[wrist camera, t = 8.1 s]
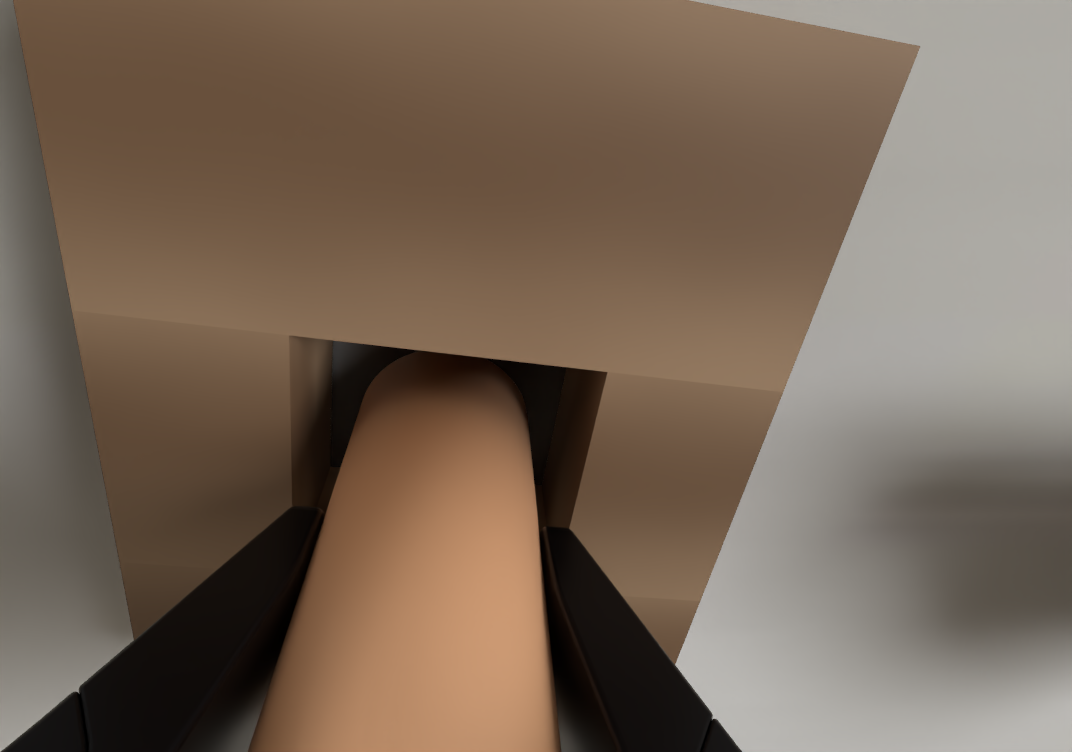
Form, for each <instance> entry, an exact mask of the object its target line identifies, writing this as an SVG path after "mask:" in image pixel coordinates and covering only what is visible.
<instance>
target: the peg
mask: <svg viewBox="0 0 1072 752" xmlns="http://www.w3.org/2000/svg"><path fill="white" fill-rule="evenodd" d="M248 752H561V743H560V733H559V723H558V713H557V703H556V694H555V684H554V674H553V664H552V654H551V644H550V634H549V624H548V614H547V604H546V594H545V585H544V575H543V565H542V555H541V545H540V535H539V525H538V515H537V505H536V495H535V485H534V475H533V466H532V456H531V446H530V436H529V426H528V416H527V410H526V405H525V402H524V399H523V396H522V394H521V392H520V390H519V389H518V387H517V385H516V384H515V383H514V381H513V380H512V379H511V378H510V377H509V376H508V375H507V374H506V373H505V372H504V371H503V370H502V369H501V368H499V367H498V366H497V365H495V364H494V363H492V362H490V361H489V360H487V359H485V358H482V357H473V356H464V355H456V354H447V353H438V352H429V351H418V352H415V353H412V354H408V355H406V356H404V357H402V358H399V359H397V360H396V361H394V362H393V363H391V364H389V365H388V366H387V367H385V368H384V369H383V370H382V371H381V372H380V373H379V374H378V375H377V376H376V377H375V378H374V379H373V381H372V382H371V384H370V385H369V387H368V389H367V391H366V393H365V395H364V398H363V401H362V404H361V407H360V410H359V413H358V416H357V419H356V422H355V425H354V428H353V431H352V434H351V437H350V440H349V443H348V446H347V450H346V453H345V456H344V459H343V462H342V465H341V468H340V471H339V474H338V477H337V480H336V483H335V486H334V489H333V492H332V495H331V498H330V501H329V505H328V508H327V511H326V514H325V517H324V520H323V523H322V526H321V529H320V532H319V535H318V538H317V541H316V544H315V547H314V550H313V553H312V556H311V560H310V563H309V566H308V569H307V572H306V575H305V578H304V581H303V584H302V587H301V590H300V593H299V596H298V599H297V602H296V605H295V608H294V611H293V615H292V618H291V621H290V624H289V627H288V630H287V633H286V636H285V639H284V642H283V645H282V648H281V651H280V654H279V657H278V660H277V663H276V666H275V670H274V673H273V676H272V679H271V682H270V685H269V688H268V691H267V694H266V697H265V700H264V703H263V706H262V709H261V712H260V715H259V718H258V721H257V725H256V728H255V731H254V734H253V737H252V740H251V743H250V746H249V749H248Z"/></svg>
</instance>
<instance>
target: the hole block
mask: <svg viewBox="0 0 1072 752" xmlns="http://www.w3.org/2000/svg"><path fill="white" fill-rule="evenodd" d="M13 2H14V8H15V13H16V18H17V24H18V29H19V34H20V39H21V45H22V50H23V55H24V61H25V66H26V71H27V76H28V82H29V87H30V92H31V97H32V103H33V108H34V113H35V119H36V124H37V129H38V134H39V140H40V145H41V150H42V156H43V161H44V166H45V171H46V177H47V182H48V187H49V193H50V198H51V203H52V208H53V214H54V219H55V224H56V230H57V235H58V240H59V245H60V251H61V256H62V261H63V267H64V272H65V277H66V282H67V288H68V293H69V298H70V304H71V309H72V314H73V319H74V325H75V330H76V335H77V341H78V346H79V351H80V356H81V362H82V367H83V372H84V378H85V383H86V388H87V393H88V399H89V404H90V409H91V415H92V420H93V425H94V430H95V436H96V441H97V446H98V452H99V457H100V462H101V467H102V473H103V478H104V483H105V489H106V494H107V499H108V504H109V510H110V515H111V520H112V526H113V531H114V536H115V541H116V547H117V552H118V557H119V563H120V568H121V573H122V578H123V584H124V589H125V594H126V600H127V605H128V610H129V615H130V621H131V626H132V631H133V637H134V640H135V639H136V638H137V637H138V636H140V635H141V634H142V633H143V632H144V631H145V630H147V629H148V628H149V627H150V626H151V625H153V624H154V623H155V622H156V621H157V620H158V619H160V618H161V617H162V616H163V615H164V614H165V613H167V612H168V611H169V610H170V609H171V608H172V607H174V606H175V605H176V604H177V603H178V602H180V601H181V600H182V599H183V598H184V597H185V596H187V595H188V594H189V593H190V592H191V591H192V590H194V589H195V588H196V587H197V586H198V585H199V584H201V583H202V582H203V581H204V580H205V579H207V578H208V577H209V576H210V575H211V574H212V573H214V572H215V571H216V570H217V569H218V568H219V567H221V566H222V565H223V564H224V563H225V562H227V561H228V560H229V559H230V558H231V557H232V556H234V555H235V554H236V553H237V552H238V551H239V550H241V549H242V548H243V547H244V546H245V545H246V544H248V543H249V542H250V541H251V540H252V539H254V538H255V537H256V536H257V535H258V534H259V533H261V532H262V531H263V530H264V529H265V528H266V527H268V526H269V525H270V524H271V523H272V522H273V521H275V520H276V519H277V518H278V517H279V516H281V515H282V514H283V513H284V512H285V511H286V510H288V509H289V508H290V507H293V506H307V507H318V508H321V509H322V510H323V512H324V517H325V514H326V511H327V508H328V505H329V501H330V498H331V495H332V492H333V489H334V486H335V483H336V480H337V477H338V474H339V471H340V468H339V467H331V419H332V360H333V340H334V341H342V342H351V343H360V344H369V345H377V346H386V347H395V348H403V349H412V350H421V351H429V352H438V353H447V354H456V355H464V356H473V357H482V358H490V359H499V360H508V361H516V362H525V363H534V364H543V365H551V366H560V367H566V372H565V377H564V382H563V386H562V391H561V396H560V401H559V405H558V410H557V415H556V420H555V424H554V429H553V434H552V439H551V443H550V448H549V453H548V458H547V462H546V467H545V472H544V477H543V482H542V486H541V485H535V495H536V505H537V515H538V525H539V534H540V531H541V529H542V528H543V527H545V526H552V527H565V528H569V529H570V530H572V531H573V532H574V534H575V535H576V536H577V538H578V539H579V540H580V541H581V543H582V544H583V545H584V547H585V548H586V549H587V551H588V552H589V553H590V555H591V556H592V557H593V558H594V560H595V561H596V562H597V564H598V565H599V566H600V568H601V569H602V570H603V572H604V573H605V574H606V575H607V577H608V578H609V579H610V581H611V582H612V583H613V585H614V586H615V587H616V589H617V590H618V591H619V592H620V594H621V595H622V596H623V598H624V599H625V600H626V602H627V603H628V604H629V605H630V607H631V608H632V609H633V611H634V612H635V613H636V615H637V616H638V617H639V619H640V620H641V621H642V622H643V624H644V625H645V626H646V628H647V629H648V630H649V632H650V633H651V634H652V636H653V637H654V638H655V639H656V641H657V642H658V643H659V645H660V646H661V647H662V649H663V650H664V651H665V653H666V654H667V655H668V656H669V658H670V659H671V660H672V662H673V663H674V664H675V663H676V661H677V658H678V656H679V653H680V651H681V648H682V646H683V643H684V641H685V638H686V636H687V633H688V630H689V628H690V625H691V623H692V620H693V618H694V615H695V613H696V610H697V608H698V605H699V603H700V600H701V598H702V595H703V593H704V590H705V588H706V585H707V583H708V580H709V578H710V575H711V573H712V570H713V567H714V565H715V562H716V560H717V557H718V555H719V552H720V550H721V547H722V545H723V542H724V540H725V537H726V535H727V532H728V530H729V527H730V525H731V522H732V520H733V517H734V515H735V512H736V510H737V507H738V504H739V502H740V499H741V497H742V494H743V492H744V489H745V487H746V484H747V482H748V479H749V477H750V474H751V472H752V469H753V467H754V464H755V462H756V459H757V457H758V454H759V452H760V449H761V447H762V444H763V441H764V439H765V436H766V434H767V431H768V429H769V426H770V424H771V421H772V419H773V416H774V414H775V411H776V409H777V406H778V404H779V401H780V399H781V396H782V394H783V391H784V389H785V386H786V384H787V381H788V378H789V376H790V373H791V371H792V368H793V366H794V363H795V361H796V358H797V356H798V353H799V351H800V348H801V346H802V343H803V341H804V338H805V336H806V333H807V331H808V328H809V326H810V323H811V321H812V318H813V315H814V313H815V310H816V308H817V305H818V303H819V300H820V298H821V295H822V293H823V290H824V288H825V285H826V283H827V280H828V278H829V275H830V273H831V270H832V268H833V265H834V263H835V260H836V258H837V255H838V252H839V250H840V247H841V245H842V242H843V240H844V237H845V235H846V232H847V230H848V227H849V225H850V222H851V220H852V217H853V215H854V212H855V210H856V207H857V205H858V202H859V200H860V197H861V195H862V192H863V189H864V187H865V184H866V182H867V179H868V177H869V174H870V172H871V169H872V167H873V164H874V162H875V159H876V157H877V154H878V152H879V149H880V147H881V144H882V142H883V139H884V137H885V134H886V132H887V129H888V126H889V124H890V121H891V119H892V116H893V114H894V111H895V109H896V106H897V104H898V101H899V99H900V96H901V94H902V91H903V89H904V86H905V84H906V81H907V79H908V76H909V74H910V71H911V69H912V66H913V63H914V61H915V58H916V56H917V53H918V51H919V48H920V46H916V45H911V44H906V43H901V42H896V41H891V40H886V39H881V38H876V37H871V36H866V35H861V34H855V33H850V32H845V31H840V30H835V29H830V28H825V27H820V26H815V25H810V24H805V23H800V22H795V21H790V20H785V19H780V18H775V17H770V16H765V15H760V14H755V13H749V12H744V11H739V10H734V9H729V8H724V7H719V6H714V5H709V4H704V3H699V2H694V1H689V0H13Z"/></svg>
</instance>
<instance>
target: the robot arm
mask: <svg viewBox="0 0 1072 752" xmlns="http://www.w3.org/2000/svg"><path fill="white" fill-rule="evenodd" d="M323 520H324V512H323V510H322V509H321V508H318V507H307V506H293V507H290V508H289V509H288V510H286V511H285V512H284V513H283V514H282V515H281V516H279V517H278V518H277V519H276V520H275V521H273V522H272V523H271V524H270V525H269V526H268V527H266V528H265V529H264V530H263V531H262V532H261V533H259V534H258V535H257V536H256V537H255V538H254V539H252V540H251V541H250V542H249V543H248V544H246V545H245V546H244V547H243V548H242V549H241V550H239V551H238V552H237V553H236V554H235V555H234V556H232V557H231V558H230V559H229V560H228V561H227V562H225V563H224V564H223V565H222V566H221V567H219V568H218V569H217V570H216V571H215V572H214V573H212V574H211V575H210V576H209V577H208V578H207V579H205V580H204V581H203V582H202V583H201V584H199V585H198V586H197V587H196V588H195V589H194V590H192V591H191V592H190V593H189V594H188V595H187V596H185V597H184V598H183V599H182V600H181V601H180V602H178V603H177V604H176V605H175V606H174V607H172V608H171V609H170V610H169V611H168V612H167V613H165V614H164V615H163V616H162V617H161V618H160V619H158V620H157V621H156V622H155V623H154V624H153V625H151V626H150V627H149V628H148V629H147V630H145V631H144V632H143V633H142V634H141V635H140V636H138V637H137V638H136V639H135V640H134V641H133V642H131V643H130V644H129V645H128V646H127V647H126V648H124V649H123V650H122V651H121V652H120V653H118V654H117V655H116V656H115V657H114V658H113V659H111V660H110V661H109V662H108V663H107V664H106V665H104V666H103V667H102V668H101V669H100V670H98V671H97V672H96V673H95V674H94V675H93V676H91V677H90V678H89V679H88V680H87V681H86V682H84V683H83V684H82V685H81V686H80V687H79V693H78V692H73V693H71V694H70V695H69V696H68V697H66V698H65V699H64V700H63V701H62V702H60V703H59V704H58V705H57V706H56V707H55V708H53V709H52V710H51V711H50V712H49V713H48V714H46V715H45V716H44V717H43V718H42V719H40V720H39V721H38V722H37V723H36V724H34V725H33V726H32V727H31V728H29V729H28V730H27V731H26V732H25V733H23V734H22V735H21V736H20V737H18V738H17V739H16V740H15V741H14V742H12V743H11V744H10V745H9V746H7V747H6V748H5V749H4V750H2V751H1V752H248V749H249V746H250V743H251V740H252V737H253V734H254V731H255V728H256V725H257V721H258V718H259V715H260V712H261V709H262V706H263V703H264V700H265V697H266V694H267V691H268V688H269V685H270V682H271V679H272V676H273V673H274V670H275V666H276V663H277V660H278V657H279V654H280V651H281V648H282V645H283V642H284V639H285V636H286V633H287V630H288V627H289V624H290V621H291V618H292V615H293V611H294V608H295V605H296V602H297V599H298V596H299V593H300V590H301V587H302V584H303V581H304V578H305V575H306V572H307V569H308V566H309V563H310V560H311V556H312V553H313V550H314V547H315V544H316V541H317V538H318V535H319V532H320V529H321V526H322V523H323ZM539 535H540V545H541V555H542V565H543V575H544V585H545V594H546V604H547V614H548V624H549V634H550V644H551V654H552V664H553V674H554V684H555V694H556V703H557V713H558V723H559V733H560V743H561V752H742V751H741V750H740V749H739V747H738V746H737V745H736V744H735V742H734V741H733V740H732V738H731V737H730V736H729V734H728V733H727V732H726V731H725V729H724V728H723V727H722V725H721V724H720V723H719V721H718V720H717V719H713V720H712V717H713V715H712V713H711V711H710V710H709V709H708V707H707V706H706V705H705V703H704V702H703V701H702V700H701V698H700V697H699V696H698V694H697V693H696V692H695V690H694V689H693V688H692V686H691V685H690V684H689V683H688V681H687V680H686V679H685V677H684V676H683V675H682V673H681V672H680V671H679V670H678V668H677V667H676V666H675V664H674V663H673V662H672V660H671V659H670V658H669V656H668V655H667V654H666V653H665V651H664V650H663V649H662V647H661V646H660V645H659V643H658V642H657V641H656V639H655V638H654V637H653V636H652V634H651V633H650V632H649V630H648V629H647V628H646V626H645V625H644V624H643V622H642V621H641V620H640V619H639V617H638V616H637V615H636V613H635V612H634V611H633V609H632V608H631V607H630V605H629V604H628V603H627V602H626V600H625V599H624V598H623V596H622V595H621V594H620V592H619V591H618V590H617V589H616V587H615V586H614V585H613V583H612V582H611V581H610V579H609V578H608V577H607V575H606V574H605V573H604V572H603V570H602V569H601V568H600V566H599V565H598V564H597V562H596V561H595V560H594V558H593V557H592V556H591V555H590V553H589V552H588V551H587V549H586V548H585V547H584V545H583V544H582V543H581V541H580V540H579V539H578V538H577V536H576V535H575V534H574V532H573V531H572V530H570V529H569V528H565V527H552V526H545V527H543V528H542V529H541V531H540V534H539ZM711 720H712V721H711Z"/></svg>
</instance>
